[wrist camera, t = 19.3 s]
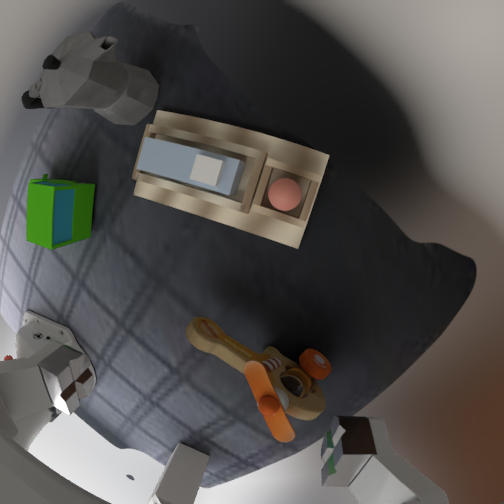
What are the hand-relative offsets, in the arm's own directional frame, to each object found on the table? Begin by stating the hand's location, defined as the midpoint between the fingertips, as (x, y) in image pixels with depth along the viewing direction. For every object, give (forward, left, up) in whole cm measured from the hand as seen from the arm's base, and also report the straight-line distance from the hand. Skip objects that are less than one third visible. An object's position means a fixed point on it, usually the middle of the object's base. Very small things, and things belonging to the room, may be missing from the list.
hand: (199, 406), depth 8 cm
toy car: (-33, -5, -29) cm, 44 cm away
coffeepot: (-26, +13, -29) cm, 41 cm away
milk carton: (-1, -50, -29) cm, 58 cm away
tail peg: (0, +6, -28) cm, 29 cm away
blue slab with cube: (-12, +6, -28) cm, 31 cm away
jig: (-8, +6, -29) cm, 31 cm away
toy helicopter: (+5, -15, -29) cm, 33 cm away
